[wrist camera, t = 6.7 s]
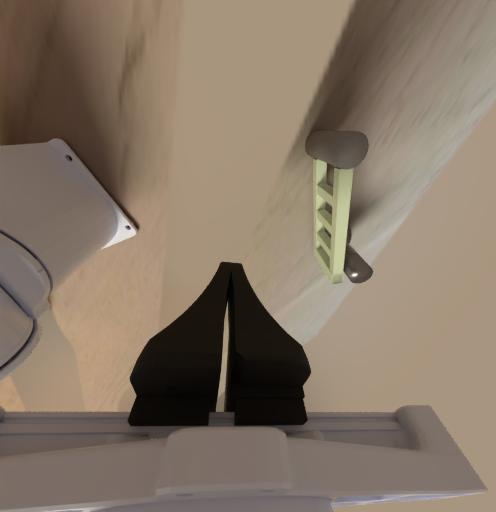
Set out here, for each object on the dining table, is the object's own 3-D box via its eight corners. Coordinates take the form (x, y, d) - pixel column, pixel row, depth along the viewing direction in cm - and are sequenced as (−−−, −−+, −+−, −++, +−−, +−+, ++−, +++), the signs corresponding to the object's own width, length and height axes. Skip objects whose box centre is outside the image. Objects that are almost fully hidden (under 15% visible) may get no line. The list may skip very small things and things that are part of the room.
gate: (305, 133, 16) (335, 136, 11) (329, 127, 16) (370, 127, 11) (308, 253, 23) (328, 288, 18) (325, 249, 23) (349, 284, 18)
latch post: (311, 231, 21) (335, 265, 16) (347, 218, 21) (385, 250, 15) (317, 257, 23) (340, 295, 18) (350, 246, 23) (384, 283, 17)
